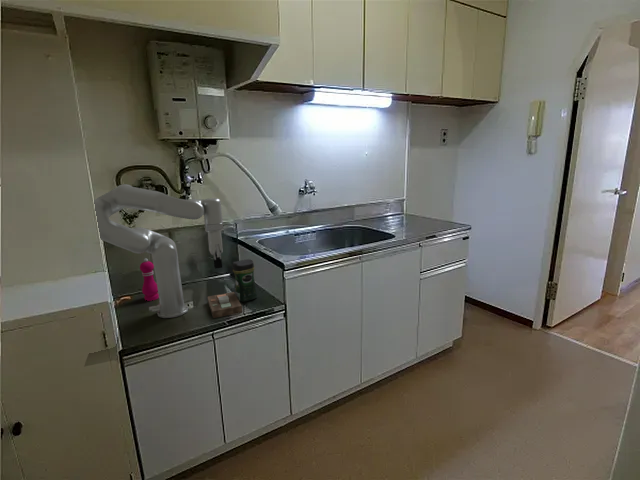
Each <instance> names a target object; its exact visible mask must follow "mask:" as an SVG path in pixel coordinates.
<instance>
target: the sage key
mask: <svg viewBox="0 0 640 480" xmlns="http://www.w3.org/2000/svg"><path fill="white" fill-rule="evenodd" d="M220 305H221V309H222V308H227V307H231V304H230V303H225V304H220Z"/></svg>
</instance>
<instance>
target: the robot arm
mask: <svg viewBox="0 0 640 480" xmlns="http://www.w3.org/2000/svg"><path fill="white" fill-rule="evenodd" d="M93 200H94V204H95V211H96V216H97V222H98V228H99V232H100V238H101V240H100V241H103V242H106V243H107V244H111V245H113V246H115V247H118V248H121V249H124V250H127V251H129V252H131V253H134V254H143V253H146V254H147V253H148V254H151V257H152V258H151V259H152V263H153V265H154V269H153V270H154V275H155V280H156V281H155V282H156V284H157V287H158V292H157V293H158V294H159V298H158V299H159V303H158V304H157V305H152V306H148V311H149V312H152V313H156V312H157V313H156V314H157V316H158V317H159V318H162V319H171V318H177V317H181V316H182V315H185V314H186V313H188V311H189V306H188V305H187V304H185V301H184V293H183V286H182V278H181V272H180V265H179V264H180V263H179V255H178V249H177V244H176V242H175V241H174V240H173V239H172V238H170V237H168V236H165V235H163V234H161V233H158V232H156V231H153V230H151V229H148V228H146V227H141V226H137V227H133V228H132V227H129V226H126V225H124V224H123V223H118V222H115V221H113V220H111V218H109V217H111V216H113V215H115V214H116V213H118V212H120V211H122V210H124V209H133V210H138V211H139V210H140V211H144V212H151V213H156V214H160V215H165V216H168V217H169V216H171V217H176V218H179V219H185V220H186V219H187V220H192V221H193V220H194V221H195V220H199V219H201V218H202V217H203V219H204V220H203V222H204V229H205V232H206V233H207V241H208V251H209V253H210V255H212V256H213V265H214V269H221V268H223V261H222V254H223V252H224V251H223V239H222V238H223V237H222V231H224V223H223V222H224V221H223V212H222V211H223V210H222V203H221V199H220V198H217V197H210V198H205V199H204V198H203V199H201V198H190V199H183V198H178V197H175V196H174V197H173V196H171V195H168V194H166V193H164V192H160V191H157V190H153V189H152V190H151V189H145V188H140V187H135V186H132V185H131V184H126V183H124V184H120V185H117V186H116V187H115V188H113V189H112V190H109V191H108V192H105V193H103V194H102V195H100V196H98V197H97V198H94V199H93Z"/></svg>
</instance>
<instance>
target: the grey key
mask: <svg viewBox="0 0 640 480" xmlns="http://www.w3.org/2000/svg"><path fill="white" fill-rule="evenodd" d="M218 299H219V304H222V303H227V302H229V298H228V296H222V297H218Z"/></svg>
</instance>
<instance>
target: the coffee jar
mask: <svg viewBox="0 0 640 480" xmlns="http://www.w3.org/2000/svg"><path fill="white" fill-rule="evenodd" d="M254 272H255V265H254V261H253V259H251V258H246V259H242V260H237V261H233V262H232V273H234V280H235V286H234V287H235V291H234V293H235V295H236V296H237V298H238V300H239V302H240V303H241V302H242V303H243V302H248V301H251V300H252V301H253V300H255V299H257V297H258V291H257V288H256V287H257V286H256V282H255V276H254V274H255V273H254Z"/></svg>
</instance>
